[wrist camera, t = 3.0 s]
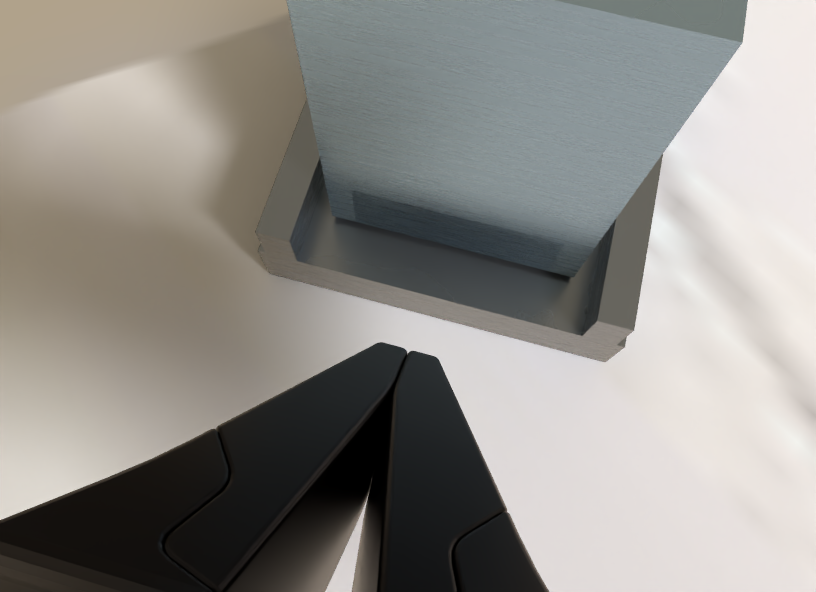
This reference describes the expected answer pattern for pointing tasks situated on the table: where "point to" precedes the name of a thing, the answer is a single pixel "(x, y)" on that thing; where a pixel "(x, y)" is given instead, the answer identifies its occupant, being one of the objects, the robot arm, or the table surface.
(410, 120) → the grey-blue brushed block
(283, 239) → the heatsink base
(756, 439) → the table surface
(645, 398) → the table surface
